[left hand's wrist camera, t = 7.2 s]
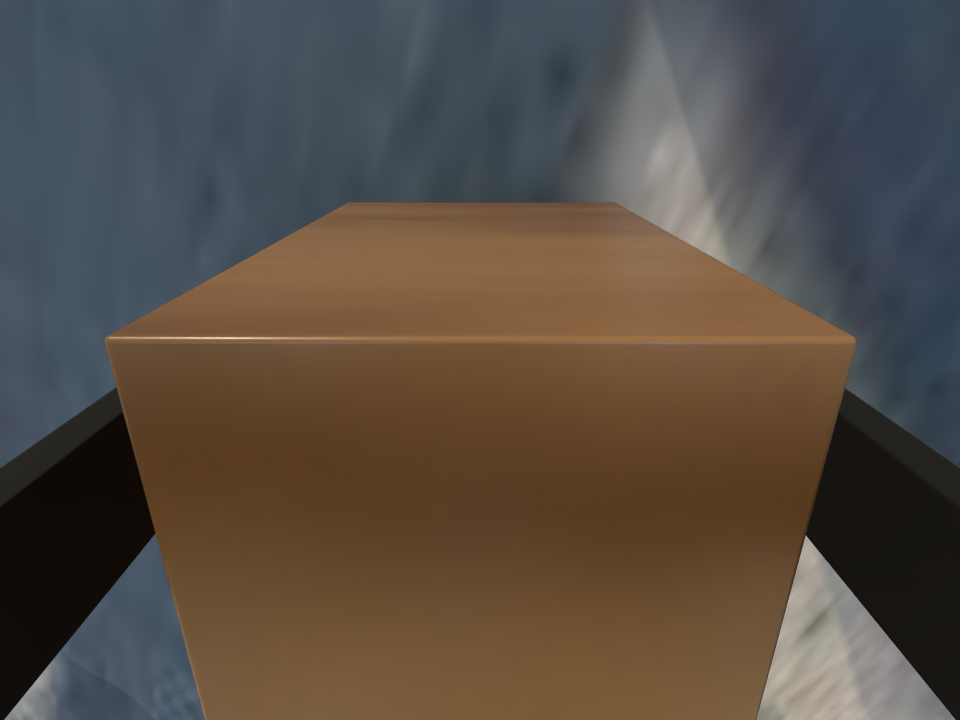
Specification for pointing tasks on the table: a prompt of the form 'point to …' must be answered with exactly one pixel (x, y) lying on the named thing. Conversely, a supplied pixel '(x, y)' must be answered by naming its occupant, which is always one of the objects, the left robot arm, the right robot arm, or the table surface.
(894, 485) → the left robot arm
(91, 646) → the table surface
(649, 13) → the table surface
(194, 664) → the box
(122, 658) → the table surface
